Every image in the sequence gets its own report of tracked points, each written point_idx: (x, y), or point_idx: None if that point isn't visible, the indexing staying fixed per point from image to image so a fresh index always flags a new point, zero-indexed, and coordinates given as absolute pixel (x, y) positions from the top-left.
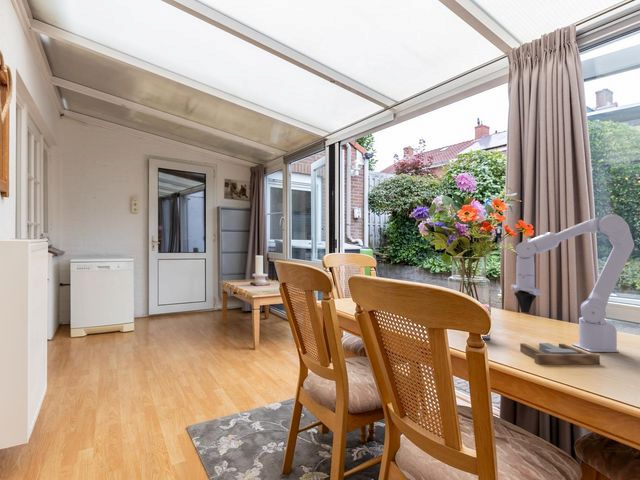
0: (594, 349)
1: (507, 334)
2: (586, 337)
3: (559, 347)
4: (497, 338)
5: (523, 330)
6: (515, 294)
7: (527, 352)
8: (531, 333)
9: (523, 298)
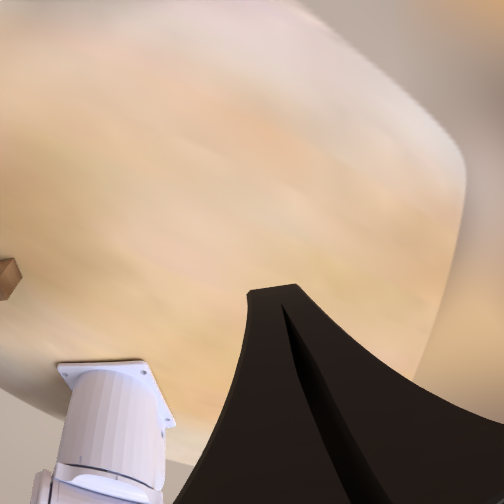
0: (74, 383)
1: (336, 129)
2: (75, 408)
3: (1, 269)
4: (219, 5)
5: (408, 271)
6: (500, 453)
7: None
8: (353, 285)
9: (180, 494)
